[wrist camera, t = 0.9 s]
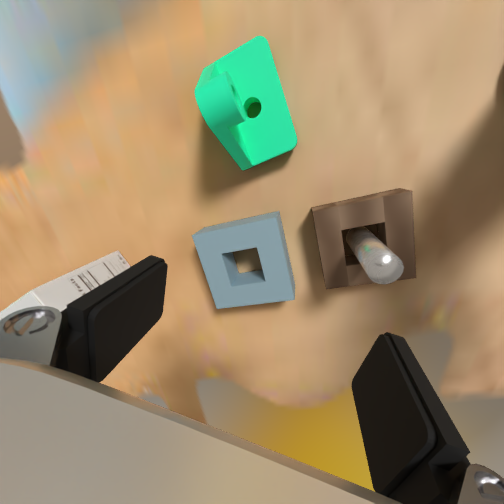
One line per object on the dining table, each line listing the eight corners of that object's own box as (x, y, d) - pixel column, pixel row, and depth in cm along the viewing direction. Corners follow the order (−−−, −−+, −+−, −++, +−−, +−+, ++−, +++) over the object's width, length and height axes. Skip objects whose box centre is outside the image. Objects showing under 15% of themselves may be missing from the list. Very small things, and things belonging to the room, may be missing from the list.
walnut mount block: (399, 188, 29) (412, 190, 26) (404, 266, 33) (415, 277, 29) (311, 207, 32) (312, 212, 29) (323, 277, 35) (326, 289, 32)
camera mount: (299, 147, 30) (299, 138, 21) (246, 170, 32) (224, 171, 23) (267, 43, 27) (250, -23, 18) (211, 76, 29) (169, 33, 20)
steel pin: (369, 223, 32) (402, 251, 21) (371, 245, 32) (404, 281, 22) (344, 228, 32) (365, 256, 22) (347, 249, 33) (368, 286, 23)
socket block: (279, 210, 33) (276, 217, 29) (295, 284, 37) (294, 299, 33) (204, 227, 36) (191, 235, 32) (225, 294, 40) (216, 308, 36)
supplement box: (117, 306, 46) (38, 367, 32) (88, 269, 44) (-9, 316, 30) (149, 289, 43) (77, 348, 29) (119, 248, 41) (27, 290, 27)
